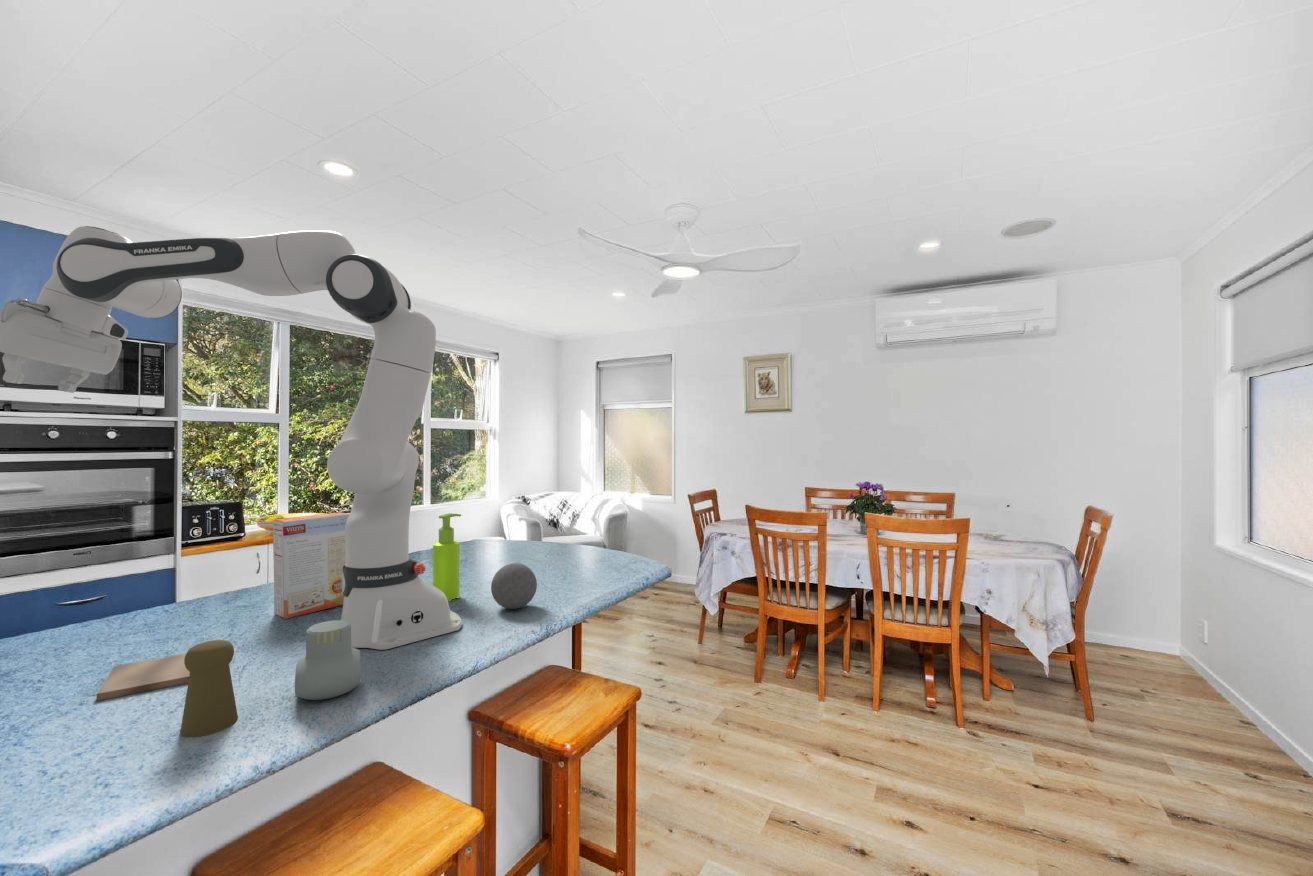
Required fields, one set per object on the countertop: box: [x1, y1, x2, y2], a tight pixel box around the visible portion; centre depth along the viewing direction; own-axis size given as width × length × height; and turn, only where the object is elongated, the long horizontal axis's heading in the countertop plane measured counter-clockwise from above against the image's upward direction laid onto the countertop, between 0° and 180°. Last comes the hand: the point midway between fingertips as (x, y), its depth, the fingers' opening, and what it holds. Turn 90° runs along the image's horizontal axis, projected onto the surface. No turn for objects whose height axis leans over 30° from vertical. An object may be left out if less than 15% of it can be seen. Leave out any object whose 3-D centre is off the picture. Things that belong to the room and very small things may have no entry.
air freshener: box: [294, 619, 362, 701], centre depth 84 cm, size 11×8×10 cm
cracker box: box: [272, 511, 350, 620], centre depth 124 cm, size 14×6×21 cm, turn 144°
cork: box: [179, 639, 239, 738], centre depth 74 cm, size 6×6×11 cm
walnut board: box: [96, 653, 190, 701], centre depth 89 cm, size 12×12×1 cm
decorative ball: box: [490, 562, 538, 610], centre depth 125 cm, size 10×10×10 cm
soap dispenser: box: [432, 513, 462, 601], centre depth 133 cm, size 6×7×20 cm
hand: (39, 387), depth 97 cm, fingers open, 8 cm apart
